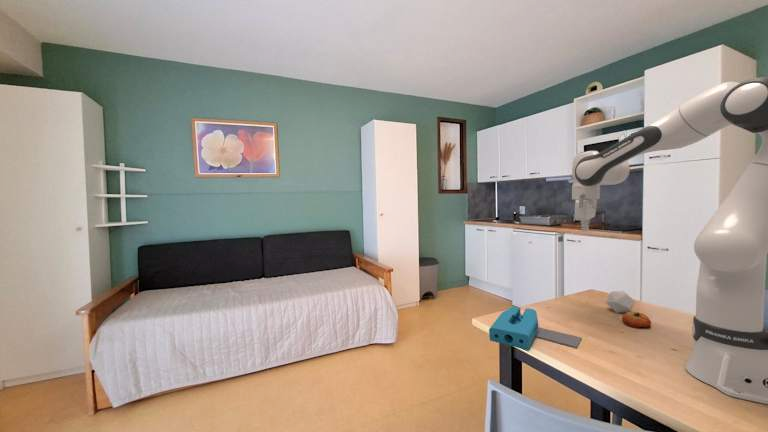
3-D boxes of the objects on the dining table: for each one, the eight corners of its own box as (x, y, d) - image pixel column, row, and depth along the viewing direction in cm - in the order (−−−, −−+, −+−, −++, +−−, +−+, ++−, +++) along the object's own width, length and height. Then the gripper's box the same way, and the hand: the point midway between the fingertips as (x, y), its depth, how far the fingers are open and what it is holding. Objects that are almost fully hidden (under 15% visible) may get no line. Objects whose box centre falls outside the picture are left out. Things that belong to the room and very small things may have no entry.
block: (507, 317, 115) (489, 341, 100) (506, 305, 115) (488, 327, 99) (542, 323, 108) (529, 350, 92) (541, 310, 107) (528, 335, 92)
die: (635, 318, 116) (642, 296, 118) (613, 306, 117) (620, 284, 120) (619, 318, 123) (626, 297, 126) (599, 307, 125) (606, 286, 127)
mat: (581, 339, 99) (581, 337, 99) (576, 348, 93) (576, 346, 93) (517, 323, 112) (517, 322, 112) (510, 330, 106) (510, 329, 106)
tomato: (617, 320, 109) (625, 303, 111) (619, 328, 113) (626, 312, 115) (646, 331, 103) (653, 313, 105) (647, 339, 107) (654, 321, 109)
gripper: (590, 194, 106) (590, 234, 107) (599, 194, 121) (599, 229, 122) (569, 195, 110) (569, 233, 111) (580, 195, 125) (580, 228, 126)
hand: (585, 230), depth 116 cm, fingers closed
